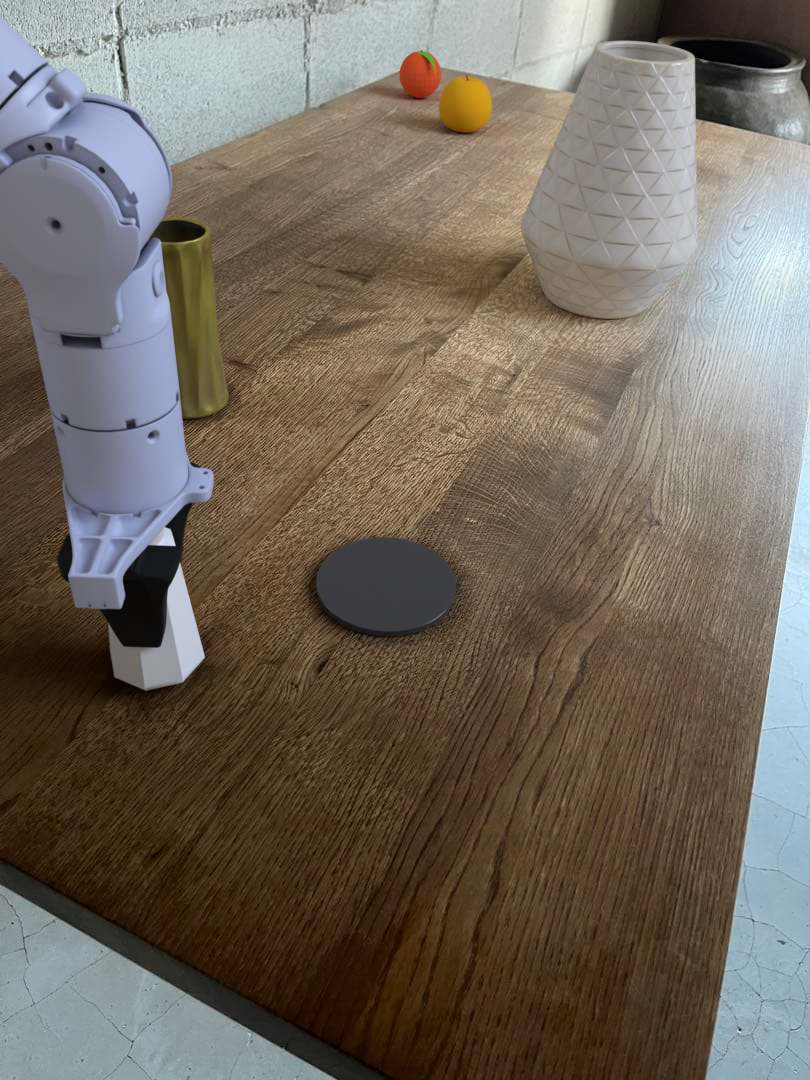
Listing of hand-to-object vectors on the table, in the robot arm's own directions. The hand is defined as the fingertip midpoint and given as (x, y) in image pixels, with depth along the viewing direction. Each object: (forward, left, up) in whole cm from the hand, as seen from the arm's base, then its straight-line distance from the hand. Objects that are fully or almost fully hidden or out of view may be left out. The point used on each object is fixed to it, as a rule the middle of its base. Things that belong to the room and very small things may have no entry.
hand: (150, 614), depth 50 cm
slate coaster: (+13, +7, -4) cm, 16 cm away
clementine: (+19, +128, -4) cm, 130 cm away
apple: (+25, +111, -4) cm, 114 cm away
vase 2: (+35, +53, -4) cm, 64 cm away
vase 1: (-3, +29, -4) cm, 30 cm away
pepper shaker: (0, 0, -4) cm, 4 cm away
